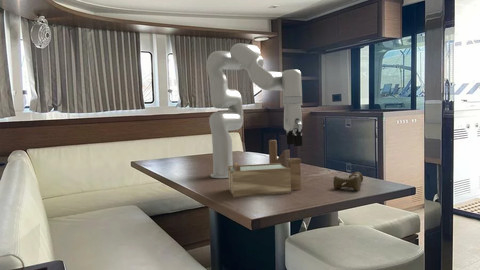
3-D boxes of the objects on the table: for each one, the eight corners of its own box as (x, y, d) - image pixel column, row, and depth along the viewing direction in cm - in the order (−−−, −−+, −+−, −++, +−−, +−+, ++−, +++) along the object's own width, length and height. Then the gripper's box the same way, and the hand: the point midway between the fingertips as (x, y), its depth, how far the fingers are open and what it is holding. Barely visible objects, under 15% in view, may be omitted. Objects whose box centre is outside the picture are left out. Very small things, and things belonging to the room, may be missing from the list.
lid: (230, 169, 148) (230, 162, 148) (280, 166, 151) (279, 159, 151) (234, 174, 137) (233, 166, 137) (287, 170, 140) (287, 163, 140)
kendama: (369, 185, 151) (354, 194, 135) (346, 184, 156) (329, 192, 140) (369, 170, 151) (354, 178, 134) (345, 170, 156) (328, 176, 140)
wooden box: (228, 189, 150) (228, 166, 149) (281, 185, 153) (280, 162, 153) (233, 197, 136) (232, 171, 136) (291, 193, 140) (290, 168, 139)
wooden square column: (287, 187, 149) (286, 158, 148) (298, 187, 150) (297, 157, 149) (290, 190, 144) (289, 160, 143) (302, 189, 145) (301, 159, 144)
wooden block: (285, 182, 159) (284, 141, 158) (267, 179, 167) (266, 140, 166) (291, 181, 162) (289, 140, 160) (273, 178, 170) (272, 139, 169)
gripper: (277, 103, 152) (279, 144, 153) (289, 101, 135) (291, 147, 136) (295, 102, 154) (296, 143, 154) (309, 100, 136) (310, 146, 137)
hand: (294, 145), depth 145 cm, fingers open, 9 cm apart
